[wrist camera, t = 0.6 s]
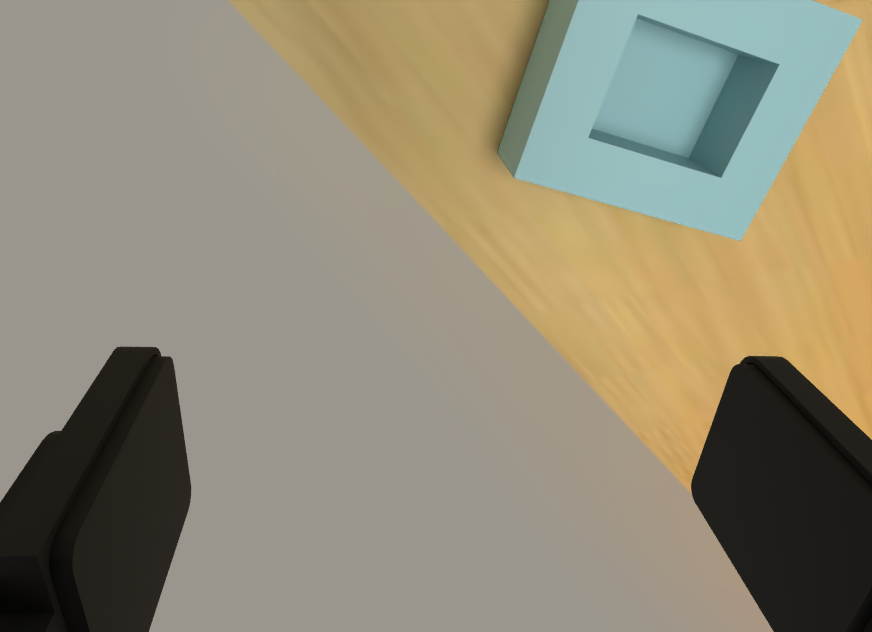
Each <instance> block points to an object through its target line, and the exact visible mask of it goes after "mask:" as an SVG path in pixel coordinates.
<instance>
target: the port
mask: <svg viewBox="0 0 872 632" xmlns="http://www.w3.org/2000/svg"><path fill="white" fill-rule="evenodd" d="M862 21H863V20H862V19H859V18H857V17H854V16H852V15H849V14H846V13H844V12H841V11H839V10H836V9H834V8H831V7H828V6H826V5H823V4H821V3H818V2H815V1H813V0H550V1H549V4H548V7H547V9H546V12H545V15H544V18H543V21H542V24H541V27H540V30H539V33H538V36H537V38H536V41H535V44H534V47H533V50H532V53H531V56H530V59H529V62H528V65H527V68H526V70H525V73H524V76H523V79H522V82H521V85H520V88H519V91H518V94H517V97H516V99H515V102H514V105H513V108H512V111H511V114H510V117H509V120H508V123H507V126H506V129H505V131H504V134H503V137H502V140H501V143H500V146H499V149H498V152H497V154H498V155H499V157H500V158H501V160H502V161H503V163H504V164H505V166H506V167H507V168H508V170H509V171H510V173H511V174H512V176H513V177H514V178H516V179H519V180H523V181H527V182H530V183H534V184H537V185H541V186H545V187H548V188H552V189H555V190H559V191H563V192H566V193H570V194H573V195H577V196H581V197H584V198H588V199H591V200H595V201H598V202H602V203H606V204H609V205H613V206H616V207H620V208H624V209H627V210H631V211H634V212H638V213H642V214H645V215H649V216H652V217H656V218H659V219H663V220H667V221H670V222H674V223H677V224H681V225H685V226H688V227H692V228H695V229H699V230H703V231H706V232H710V233H713V234H717V235H721V236H724V237H728V238H731V239H735V240H738V241H741V239H742V237H743V236H744V234H745V232H746V230H747V228H748V227H749V225H750V223H751V221H752V219H753V218H754V216H755V214H756V212H757V210H758V209H759V207H760V205H761V203H762V201H763V200H764V198H765V196H766V194H767V192H768V190H769V189H770V187H771V185H772V183H773V181H774V180H775V178H776V176H777V174H778V172H779V171H780V169H781V167H782V165H783V163H784V162H785V160H786V158H787V156H788V154H789V153H790V151H791V149H792V147H793V145H794V144H795V142H796V140H797V138H798V136H799V135H800V133H801V131H802V129H803V127H804V125H805V124H806V122H807V120H808V118H809V116H810V115H811V113H812V111H813V109H814V107H815V106H816V104H817V102H818V100H819V98H820V97H821V95H822V93H823V91H824V89H825V88H826V86H827V84H828V82H829V80H830V79H831V77H832V75H833V73H834V71H835V69H836V68H837V66H838V64H839V62H840V60H841V59H842V57H843V55H844V53H845V51H846V50H847V48H848V46H849V44H850V42H851V41H852V39H853V37H854V35H855V33H856V32H857V30H858V28H859V26H860V24H861V23H862Z"/></svg>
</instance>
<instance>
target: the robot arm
mask: <svg viewBox="0 0 872 632" xmlns="http://www.w3.org/2000/svg"><path fill="white" fill-rule="evenodd" d="M691 490H692V496H693V499H694V501H695V503H696V505H697V506H698V508H699V510H700V511H701V513H702V514H703V516H704V518H705V519H706V521H707V523H708V524H709V526H710V527H711V529H712V531H713V533H714V534H715V536H716V537H717V539H718V541H719V542H720V544H721V546H722V547H723V549H724V551H725V552H726V554H727V555H728V557H729V559H730V560H731V562H732V564H733V565H734V567H735V569H736V570H737V572H738V574H739V575H740V577H741V579H742V580H743V582H744V583H745V585H746V587H747V588H748V590H749V592H750V593H751V595H752V597H753V598H754V600H755V602H756V603H757V605H758V606H759V608H760V610H761V611H762V613H763V615H764V616H765V618H766V620H767V621H768V623H769V625H770V626H771V628H772V629H773V631H774V632H872V440H871V439H870V438H869V437H868V436H867V435H866V434H865V433H864V432H863V431H862V430H861V429H860V428H859V427H857V426H856V425H855V424H854V423H853V422H852V421H851V420H850V419H849V418H848V417H847V416H846V415H845V414H844V413H843V412H842V411H841V410H839V409H838V408H837V407H836V406H835V405H834V404H833V403H832V402H831V401H830V400H829V399H828V398H827V397H826V396H825V395H824V394H823V393H821V392H820V391H819V390H818V389H817V388H816V387H815V386H814V385H813V384H812V383H811V382H810V381H809V380H808V379H807V378H806V377H804V376H803V375H802V374H801V373H800V372H799V371H798V370H797V369H796V368H795V367H794V366H793V365H792V364H791V363H790V362H789V361H788V360H786V359H785V358H783V357H777V356H748V357H745V358H744V359H743V360H742V361H741V363H740V364H738V365H735V366H734V367H733V368H732V370H731V372H730V375H729V377H728V380H727V383H726V386H725V389H724V391H723V394H722V397H721V400H720V403H719V405H718V408H717V411H716V414H715V417H714V420H713V422H712V425H711V428H710V431H709V434H708V436H707V439H706V442H705V445H704V448H703V450H702V453H701V456H700V459H699V462H698V465H697V467H696V470H695V473H694V476H693V479H692V483H691ZM190 499H191V482H190V475H189V468H188V461H187V454H186V447H185V440H184V433H183V426H182V419H181V412H180V405H179V399H178V391H177V384H176V377H175V370H174V364H173V360H172V358H171V357H161V353H160V351H159V349H158V348H156V347H117V348H116V349H115V350H114V351H113V353H112V354H111V356H110V357H109V359H108V360H107V362H106V363H105V365H104V367H103V368H102V370H101V371H100V373H99V374H98V376H97V377H96V379H95V380H94V382H93V383H92V385H91V386H90V388H89V390H88V391H87V393H86V394H85V396H84V397H83V399H82V400H81V402H80V403H79V405H78V406H77V408H76V409H75V411H74V412H73V414H72V415H71V417H70V419H69V420H68V422H67V423H66V425H65V426H64V428H63V429H62V431H54V432H52V433H50V434H48V435H47V436H46V437H45V439H44V440H43V441H42V442H41V444H40V445H39V447H38V448H37V449H36V451H35V452H34V454H33V455H32V457H31V458H30V460H29V461H28V463H27V464H26V465H25V467H24V469H23V470H22V471H21V473H20V474H19V476H18V477H17V479H16V480H15V482H14V483H13V485H12V486H11V488H10V489H9V491H8V492H7V494H6V495H5V497H4V498H3V499H2V501H1V502H0V632H149V629H150V626H151V623H152V620H153V617H154V614H155V610H156V607H157V604H158V601H159V598H160V595H161V592H162V589H163V586H164V583H165V580H166V577H167V574H168V571H169V568H170V565H171V561H172V558H173V555H174V552H175V549H176V546H177V543H178V540H179V537H180V534H181V531H182V527H183V525H184V522H185V518H186V516H187V513H188V509H189V505H190Z"/></svg>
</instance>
